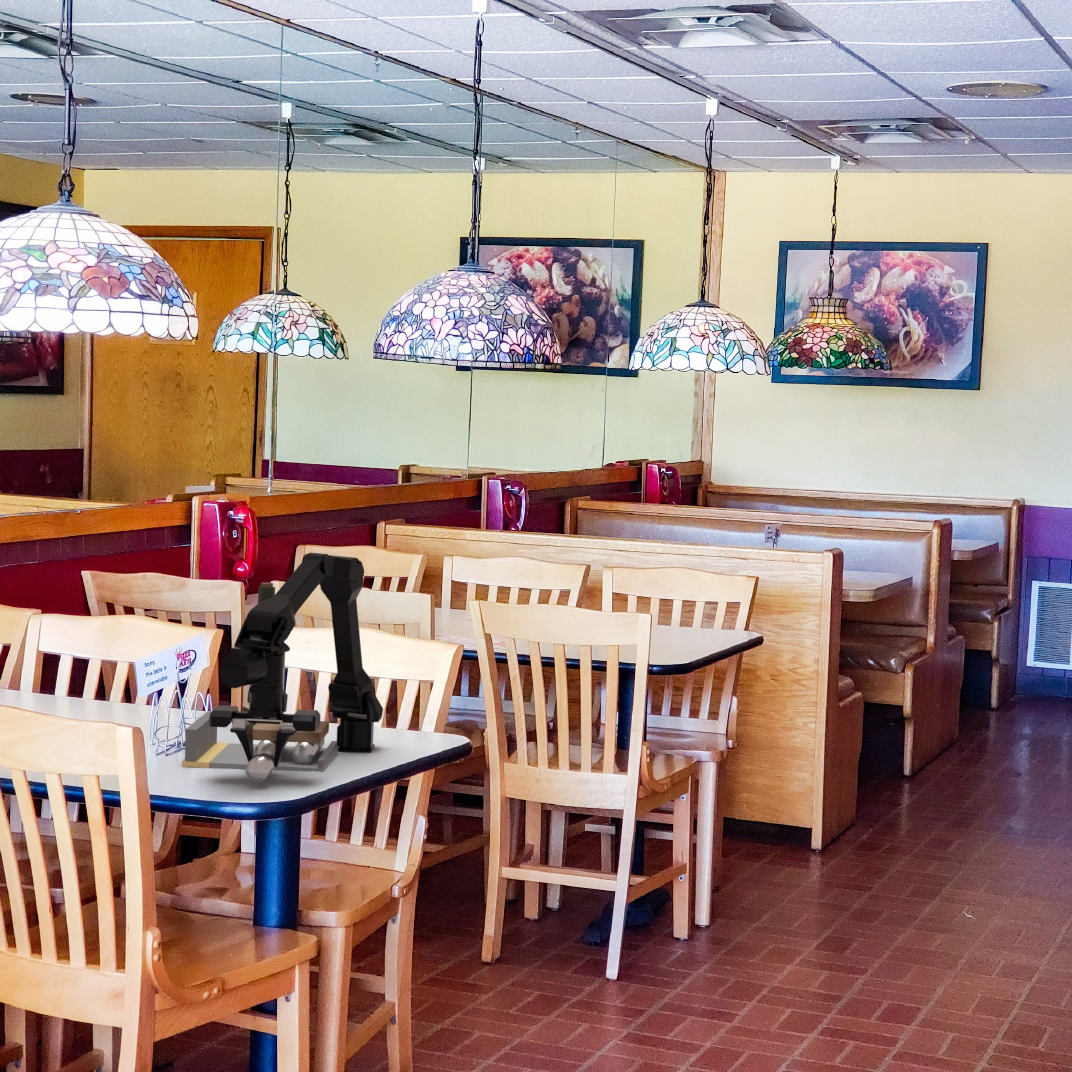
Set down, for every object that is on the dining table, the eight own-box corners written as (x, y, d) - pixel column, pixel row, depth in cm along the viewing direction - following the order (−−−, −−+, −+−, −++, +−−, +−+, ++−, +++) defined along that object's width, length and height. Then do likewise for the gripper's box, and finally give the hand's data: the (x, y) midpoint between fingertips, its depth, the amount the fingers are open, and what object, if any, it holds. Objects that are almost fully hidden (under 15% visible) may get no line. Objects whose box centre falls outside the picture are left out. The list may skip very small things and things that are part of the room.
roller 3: (304, 750, 284) (303, 729, 284) (324, 750, 284) (324, 729, 283) (292, 765, 272) (291, 743, 272) (313, 764, 272) (313, 743, 271)
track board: (336, 753, 286) (338, 718, 285) (322, 773, 270) (324, 736, 269) (203, 746, 286) (204, 711, 286) (181, 766, 271) (182, 729, 270)
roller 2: (259, 764, 267) (260, 743, 267) (281, 765, 267) (282, 744, 266) (244, 781, 255) (245, 758, 255) (267, 782, 255) (268, 760, 255)
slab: (328, 731, 282) (329, 721, 282) (319, 743, 272) (320, 732, 272) (261, 728, 283) (261, 718, 283) (249, 739, 273) (250, 729, 273)
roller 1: (268, 748, 284) (267, 727, 284) (288, 748, 284) (288, 727, 284) (254, 763, 272) (254, 741, 272) (276, 763, 272) (275, 741, 272)
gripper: (326, 673, 267) (324, 758, 269) (224, 668, 268) (222, 753, 269) (316, 685, 256) (313, 773, 258) (209, 679, 257) (207, 767, 258)
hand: (263, 766), depth 261 cm, fingers closed on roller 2, 4 cm apart
